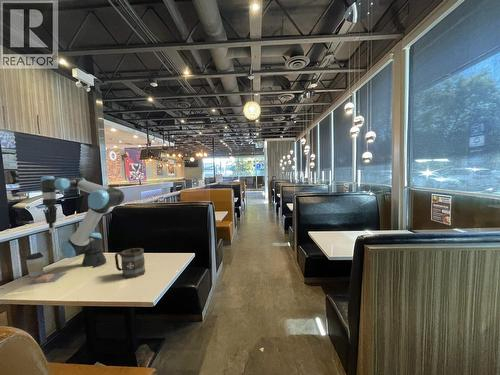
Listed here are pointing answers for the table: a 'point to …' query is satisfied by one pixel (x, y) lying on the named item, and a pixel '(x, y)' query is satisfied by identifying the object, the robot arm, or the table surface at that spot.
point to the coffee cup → (35, 264)
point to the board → (56, 277)
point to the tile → (44, 278)
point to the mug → (131, 262)
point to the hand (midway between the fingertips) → (52, 232)
